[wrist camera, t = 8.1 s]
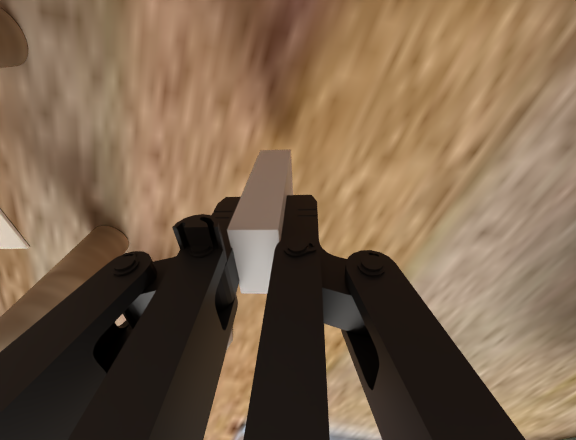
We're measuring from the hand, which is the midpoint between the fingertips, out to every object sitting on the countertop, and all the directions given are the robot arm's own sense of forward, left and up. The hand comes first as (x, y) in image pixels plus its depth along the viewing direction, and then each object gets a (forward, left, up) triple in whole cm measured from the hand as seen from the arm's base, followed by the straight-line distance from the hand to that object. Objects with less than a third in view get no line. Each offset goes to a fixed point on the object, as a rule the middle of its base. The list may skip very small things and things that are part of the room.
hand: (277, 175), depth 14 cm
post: (+13, +6, -3) cm, 15 cm away
